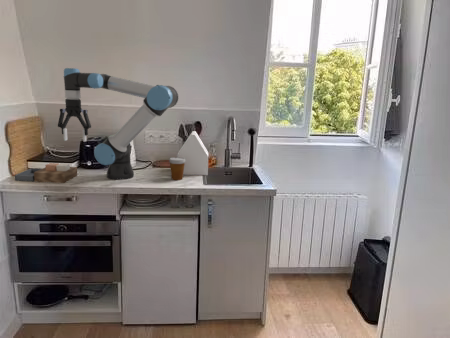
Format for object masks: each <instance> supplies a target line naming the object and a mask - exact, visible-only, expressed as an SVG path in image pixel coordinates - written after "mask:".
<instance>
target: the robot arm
mask: <svg viewBox="0 0 450 338" xmlns="http://www.w3.org/2000/svg"><path fill="white" fill-rule="evenodd" d="M63 83H64V98H65V100H64V101H65V108H59V116H58V117H59V118H58V123H57V127H58V128H60V129H61V135H63V142H64V141H65V142H66V141H68V139H69V138H68V129H67V125H68V123H69V121H70V119H71V118H72V117H74V118H75V117H76V118H77V120H79V123H80V124H81V127H82V128H83V129H82V141H83V142H84V143H85V142H87V140H88V139H87V138H88V137H87V136H88V135H89V129H91V128H92V125H91V124H92V123H91V121H90V118H89V116H88V110H87V109H82V99H81V98H82V97H81V88H82V89H83V88H84V89H86V88H87V89H104V90H109V91H113V92H118V93H120V94H121V93H122V94H126V95H130V96H134V97H139V98H143V100H142V105H141V106H140V107H139V108H138V109H137V110H136V111H135V113H134V114H132V116H131V117H130V118H128V120H127V121H126V122H125V123H124V124H123V125H122V126H121V127H120V128H119V130H118V131H117V132H116V133H115V134H114V135H111V134H110V135H109V136H108V137H107V138H105V140H104V141H103V142H102V143H98V144H97V145H96V146H95V148H94V151H93V153H94V158H95V160H96V161H97V163H99V164H101V166H108V167H107V171H106V177H107V178H108V179H111V180H129V179H132V178H133V177H134V176H135V171H134V169H133V166H132V163H131V161H132V160H131V145H132V144H131V143H132V142H133V141H134V140H135V138H137V136H138V135H140V134H141V133H142V131H143V130H144V129H145V128H147V126H148V125H149V124H150V123H151V122H152V121H153V120H154V119H155V118H156V117H161V116H163V114H164V113H165V112H166V111H167V110H168V109H171V108H173V107H175V106H176V105H177V103H178V101H179V92H178V91H177V89H175V88H174V87H173V86H171V85H162V84H161V85H160V84H156V85H152V84H148V83H144V82H138V81H133V80H131V79H125V78H121V77H116V76H113V75H109V74H107V73H106V74H105V73H97V72H80V69H79V68H76V67H75V68H74V67H73V68H72V67H71V68H68V67H66V68H63ZM65 114H66V115H65ZM82 115H83V116H82Z"/></svg>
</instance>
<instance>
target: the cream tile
mask: <svg viewBox="0 0 450 338" xmlns="http://www.w3.org/2000/svg"><path fill="white" fill-rule="evenodd" d="M56 167H57V171H68V170H70V167H71V164H70V163H59V165H56Z"/></svg>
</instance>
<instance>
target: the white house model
mask: <svg viewBox="0 0 450 338" xmlns="http://www.w3.org/2000/svg"><path fill="white" fill-rule="evenodd" d="M176 157H181V158H184V159H185V161H186V162H185V165H184V172H183V175H185V176H190V175H191V176H193V175H194V176H209V151H208V149H207V147H206V146H205V144H204V143H203V141H202V139H201V138H200V136H199V134H198V133H197V131H195V130H194V131H193V130H192V131H191V133H190V134H189V136H188V137H187V139H186V140H185V142H184V143H183V144H182V146H181V148H180V149H179V150H178V152H177V155H176Z"/></svg>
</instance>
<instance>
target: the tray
mask: <svg viewBox="0 0 450 338" xmlns="http://www.w3.org/2000/svg"><path fill="white" fill-rule="evenodd" d="M41 169H42V168H33V167H32V168H31V167H30V168H29V169H26V170H24V171H22V172H19V173H17V174H14V181H18V182H19V181H20V182H35V180H34V172H36V171H38V170H41Z"/></svg>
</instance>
